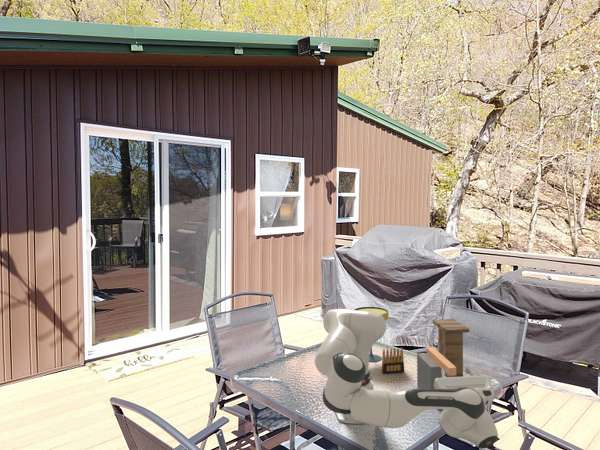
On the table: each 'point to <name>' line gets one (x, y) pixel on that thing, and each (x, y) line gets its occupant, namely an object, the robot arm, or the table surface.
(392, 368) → the ammunition clip
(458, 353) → the wooden pedestal stand
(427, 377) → the grey concrete block
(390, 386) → the table surface
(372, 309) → the cocktail glass
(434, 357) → the wooden bar
